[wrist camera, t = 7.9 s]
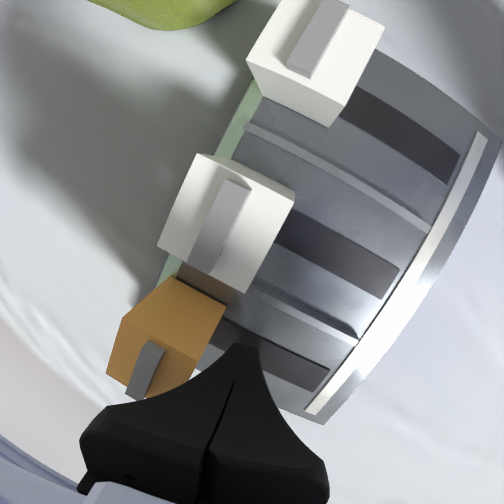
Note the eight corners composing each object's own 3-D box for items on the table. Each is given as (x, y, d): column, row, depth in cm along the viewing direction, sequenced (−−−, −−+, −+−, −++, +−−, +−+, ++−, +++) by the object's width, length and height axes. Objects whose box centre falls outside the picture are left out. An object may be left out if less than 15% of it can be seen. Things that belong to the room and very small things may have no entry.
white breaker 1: (295, 191, 11) (294, 204, 7) (261, 253, 12) (241, 301, 8) (230, 158, 11) (190, 152, 7) (200, 221, 12) (148, 250, 8)
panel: (488, 142, 11) (510, 141, 9) (322, 409, 15) (323, 433, 13) (292, 22, 11) (291, 3, 9) (146, 323, 15) (130, 341, 13)
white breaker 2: (358, 70, 10) (390, 19, 5) (328, 128, 10) (348, 102, 6) (294, 39, 10) (290, -25, 5) (262, 95, 10) (242, 53, 6)
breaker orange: (226, 306, 13) (193, 370, 8) (202, 352, 13) (166, 421, 9) (170, 275, 13) (114, 324, 8) (150, 323, 13) (98, 381, 9)
